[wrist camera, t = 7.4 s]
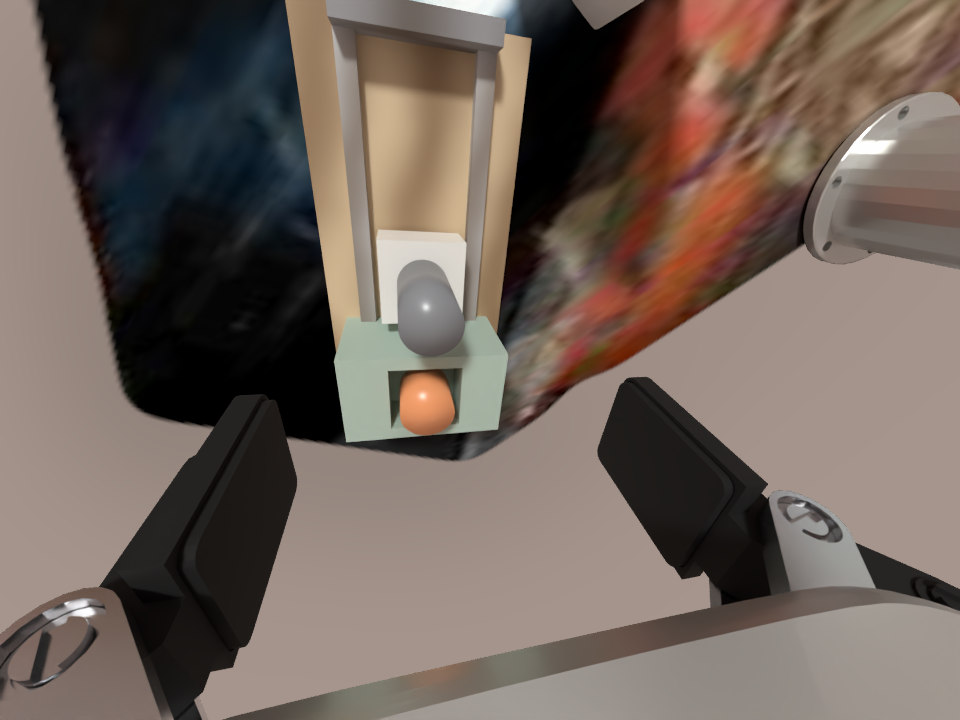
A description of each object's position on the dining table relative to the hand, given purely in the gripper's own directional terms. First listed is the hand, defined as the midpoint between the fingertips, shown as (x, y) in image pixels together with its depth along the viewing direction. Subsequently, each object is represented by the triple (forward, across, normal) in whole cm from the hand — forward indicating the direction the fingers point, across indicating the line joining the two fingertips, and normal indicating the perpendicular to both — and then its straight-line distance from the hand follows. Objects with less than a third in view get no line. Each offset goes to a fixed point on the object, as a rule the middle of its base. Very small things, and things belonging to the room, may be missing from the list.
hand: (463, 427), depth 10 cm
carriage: (+16, 0, 0) cm, 16 cm away
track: (+18, 0, -1) cm, 18 cm away
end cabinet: (+18, 0, +7) cm, 19 cm away
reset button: (+12, 0, +7) cm, 13 cm away
